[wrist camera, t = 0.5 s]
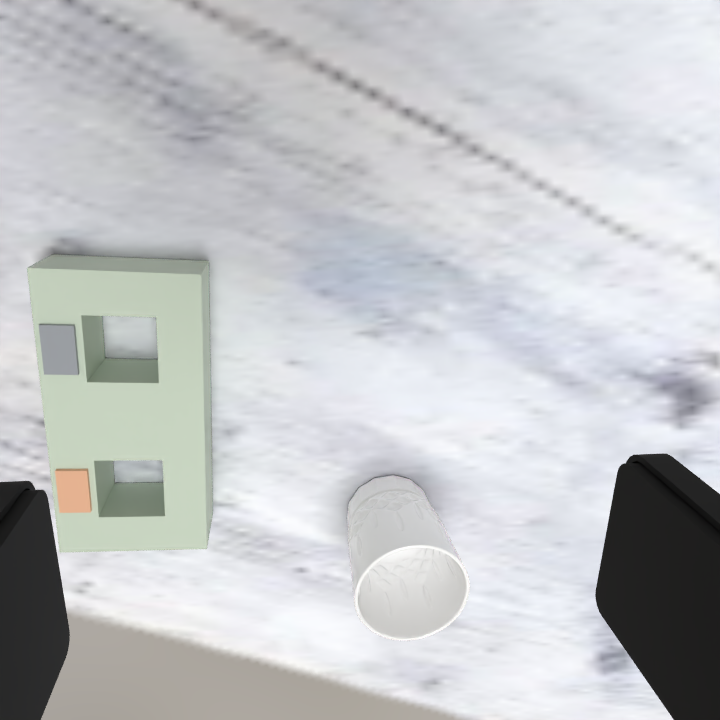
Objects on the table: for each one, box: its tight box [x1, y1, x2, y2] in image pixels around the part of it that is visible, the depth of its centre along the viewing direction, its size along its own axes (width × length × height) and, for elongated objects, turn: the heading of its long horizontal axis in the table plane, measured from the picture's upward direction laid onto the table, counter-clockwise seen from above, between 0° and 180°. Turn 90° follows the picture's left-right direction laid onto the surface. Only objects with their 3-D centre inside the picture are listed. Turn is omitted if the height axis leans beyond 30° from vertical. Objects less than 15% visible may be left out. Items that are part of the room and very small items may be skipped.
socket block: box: [27, 254, 213, 552], centre depth 42 cm, size 20×10×5 cm, turn 176°
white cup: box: [347, 475, 470, 641], centre depth 46 cm, size 8×8×10 cm
